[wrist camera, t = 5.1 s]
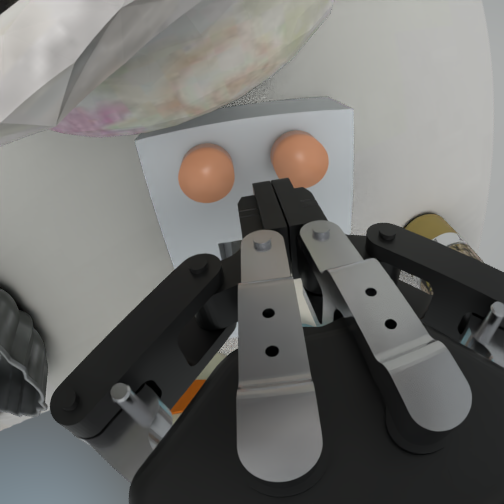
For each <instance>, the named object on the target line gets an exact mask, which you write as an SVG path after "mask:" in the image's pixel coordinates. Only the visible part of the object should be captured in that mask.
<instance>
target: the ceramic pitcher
mask: <svg viewBox="0 0 504 504" xmlns="http://www.w3.org/2000/svg"><path fill="white" fill-rule="evenodd" d="M333 2H334V0H0V147H1V146H3V145H5V144H8V143H11V142H13V141H16V140H18V139H21V138H24V137H27V136H29V135H32V134H35V133H38V132H41V131H44V130H47V129H48V130H52V131H56V132H60V133H64V134H72V135H80V136H89V137H110V136H122V135H132V134H139V133H147V132H152V131H156V130H160V129H164V128H168V127H172V126H176V125H179V124H181V123H184V122H186V121H189V120H191V119H194V118H197V117H199V116H202V115H205V114H207V113H210V112H212V111H214V110H216V109H218V108H220V107H222V106H224V105H226V104H228V103H230V102H233V101H235V100H237V99H239V98H241V97H242V96H244V95H245V94H247V93H248V92H249V91H251V90H252V89H254V88H255V87H257V86H258V85H260V84H261V83H263V82H264V81H266V80H267V79H269V78H270V77H271V76H272V75H273V74H275V73H276V72H277V71H278V70H279V69H281V68H282V67H283V66H284V65H286V64H287V63H288V62H289V61H291V60H292V59H293V58H294V57H295V56H296V54H297V53H298V52H299V51H300V49H301V48H302V47H303V46H304V45H305V43H306V42H307V41H308V40H309V38H310V37H311V36H312V35H313V34H314V32H315V31H316V30H317V29H318V28H319V27H320V25H321V24H322V23H323V22H324V21H325V20H326V18H327V17H328V16H329V15H330V14H331V10H332V6H333Z"/></svg>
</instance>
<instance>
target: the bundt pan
mask: <svg viewBox="0 0 504 504" xmlns="http://www.w3.org/2000/svg"><path fill="white" fill-rule="evenodd" d="M47 373H48V365H47V360H46V351H45V346H44V343H43V340H42V338H41V337H40V335H39V334H38V332H37V331H36V330H35V329H34V328H33V321H32V318H31V317H30V315H29V314H28V313H26V312H24V311H20V310H18V307H17V305H16V303H15V301H14V300H13V298H12V297H11V296H10V295H9V294H8V293H7V292H5V291H4V290H2V289H0V411H1V412H7V413H11V414H13V415H16V416H19V417H20V416H22V415H25V416H31V417H36V416H39V415H40V412H41V411H45V410H47V407H48V406H47V404H46V403H45V395H46V384H47Z"/></svg>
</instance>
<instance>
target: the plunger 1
mask: <svg viewBox="0 0 504 504" xmlns="http://www.w3.org/2000/svg"><path fill="white" fill-rule="evenodd" d="M234 179H235V175H234V167H233V162H232V159H231V157H230V155H229V153H228V152H227V151H226V150H225V149H223V148H222V147H220V146H218V145H215V144H211V143H204V144H199V145H197V146H194V147H193V148H191V149H190V150H189V151H188V152H187V153H186V154H185V156H184V157H183V160H182V163H181V166H180V170H179V174H178V181H179V185H180V188H181V190H182V191H183V193H184V194H185V195H186V196H187V197H189V198H190V199H192V200H194V201H196V202H200V203H212V202H216V201H219V200H221V199H222V198H224V197H225V196H226V195H227V194H228V193H229V192H230V191H231V189H232V187H233V184H234Z"/></svg>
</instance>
